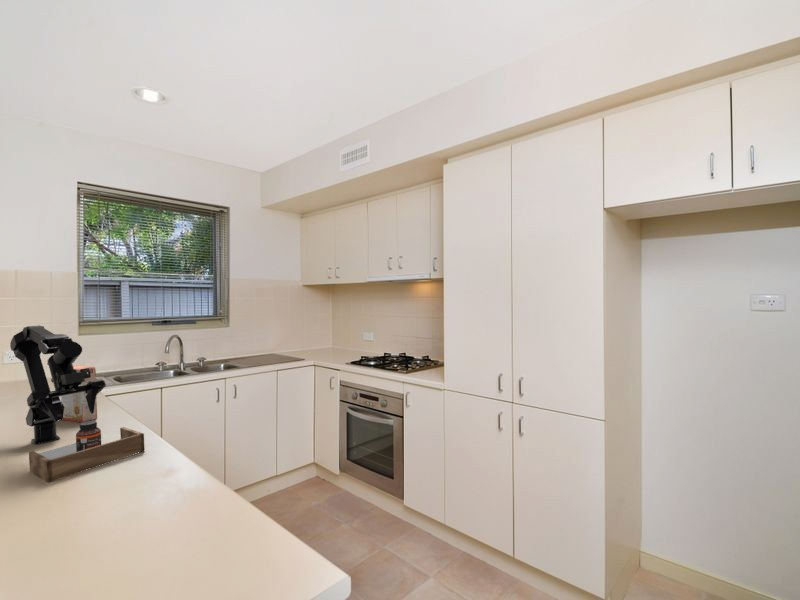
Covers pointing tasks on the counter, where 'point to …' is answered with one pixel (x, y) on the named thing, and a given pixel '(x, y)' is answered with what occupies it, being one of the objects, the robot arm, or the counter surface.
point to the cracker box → (79, 401)
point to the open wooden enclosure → (86, 457)
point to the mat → (59, 451)
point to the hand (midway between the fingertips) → (75, 417)
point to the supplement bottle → (88, 436)
